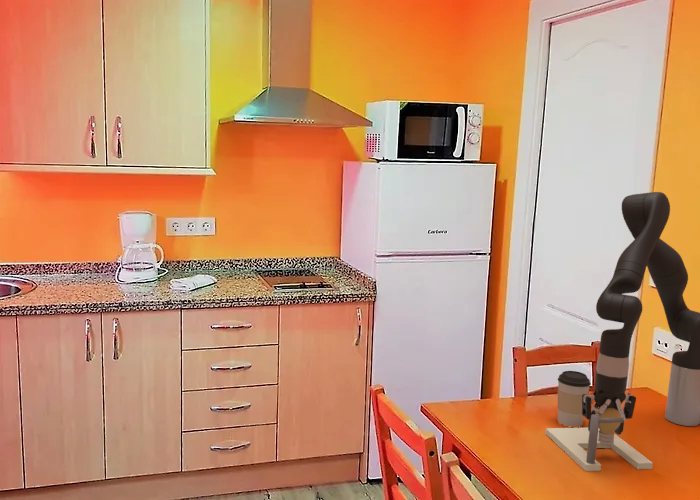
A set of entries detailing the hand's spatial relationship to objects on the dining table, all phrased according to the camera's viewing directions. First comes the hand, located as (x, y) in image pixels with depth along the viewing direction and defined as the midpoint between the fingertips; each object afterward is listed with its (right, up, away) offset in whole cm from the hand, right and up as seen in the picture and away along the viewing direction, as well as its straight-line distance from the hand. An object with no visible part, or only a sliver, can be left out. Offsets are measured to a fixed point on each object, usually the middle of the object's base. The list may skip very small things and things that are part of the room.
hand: (605, 433), depth 174 cm
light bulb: (0, -3, 0) cm, 3 cm away
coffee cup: (-2, -3, +22) cm, 22 cm away
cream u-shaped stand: (-1, -6, +4) cm, 7 cm away
